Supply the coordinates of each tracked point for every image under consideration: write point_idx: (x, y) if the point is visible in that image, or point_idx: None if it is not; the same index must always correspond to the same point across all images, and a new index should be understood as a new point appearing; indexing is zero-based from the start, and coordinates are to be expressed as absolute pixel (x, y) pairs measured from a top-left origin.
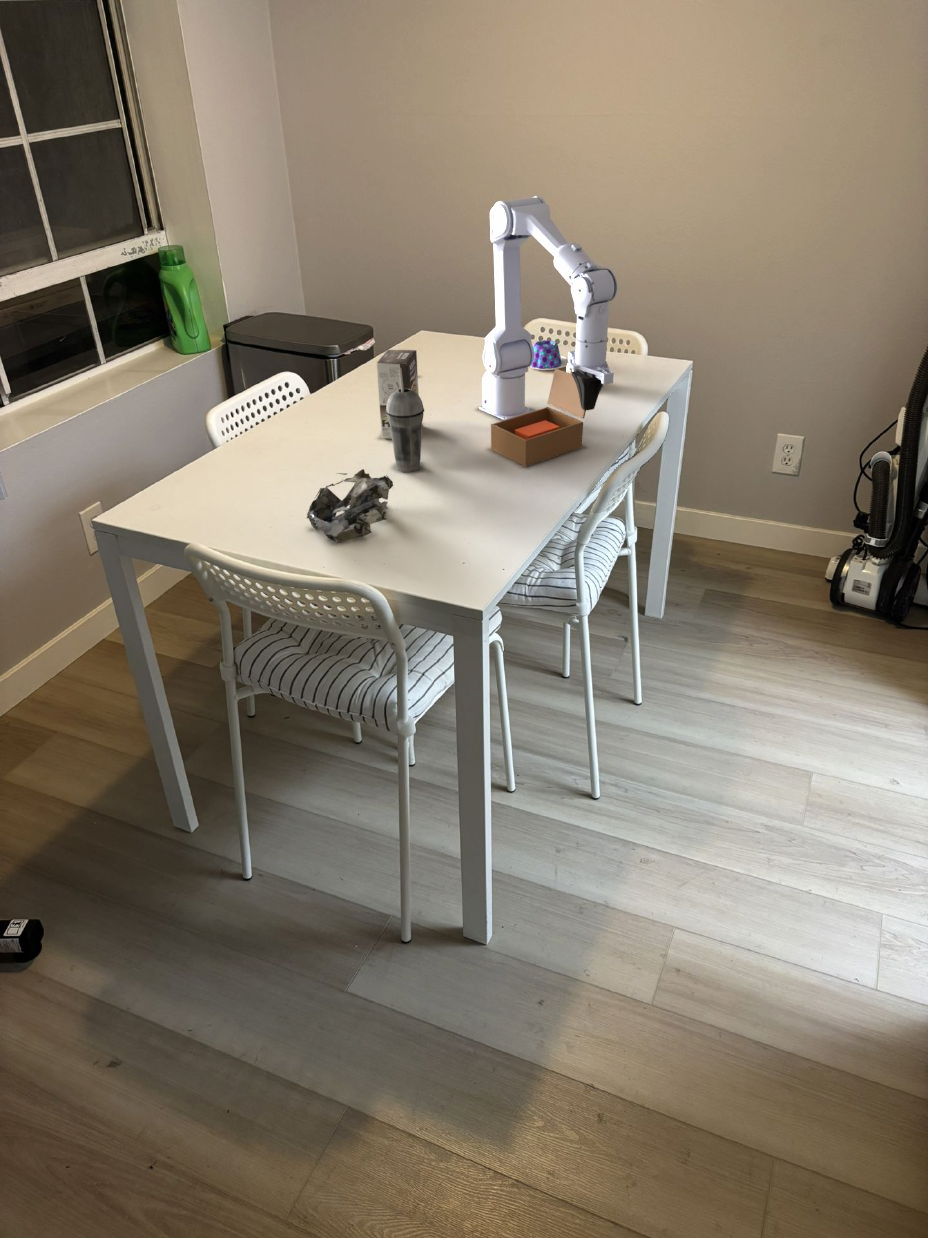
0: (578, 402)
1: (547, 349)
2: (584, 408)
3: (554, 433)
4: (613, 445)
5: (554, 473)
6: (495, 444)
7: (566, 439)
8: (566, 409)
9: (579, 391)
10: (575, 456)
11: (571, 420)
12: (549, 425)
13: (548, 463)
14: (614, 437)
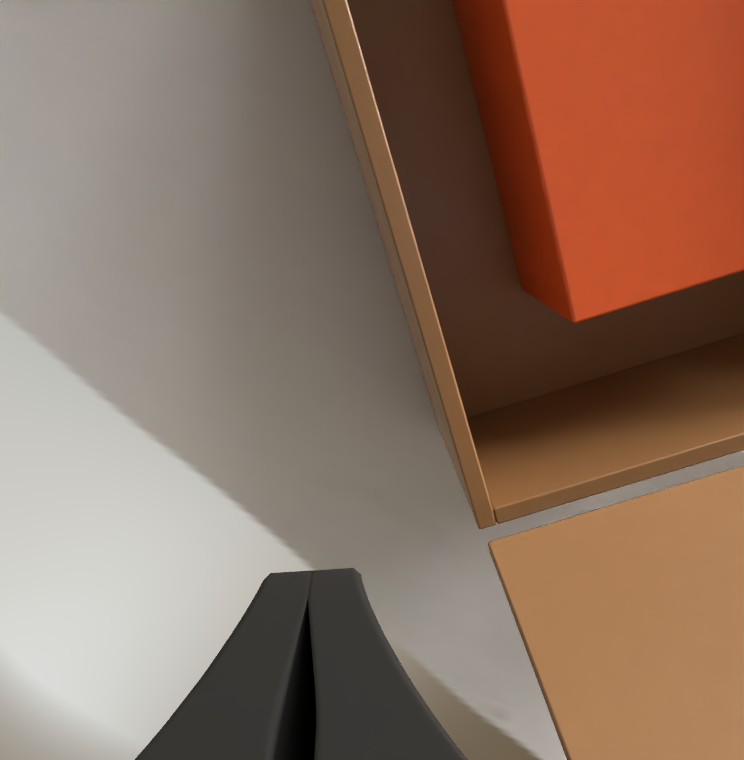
0: (654, 619)
1: None
2: (260, 586)
3: (371, 173)
4: (390, 617)
5: (68, 44)
6: None
7: (408, 313)
8: (739, 482)
9: (363, 725)
10: (317, 331)
11: (604, 461)
12: (636, 241)
13: (267, 81)
14: (498, 665)
